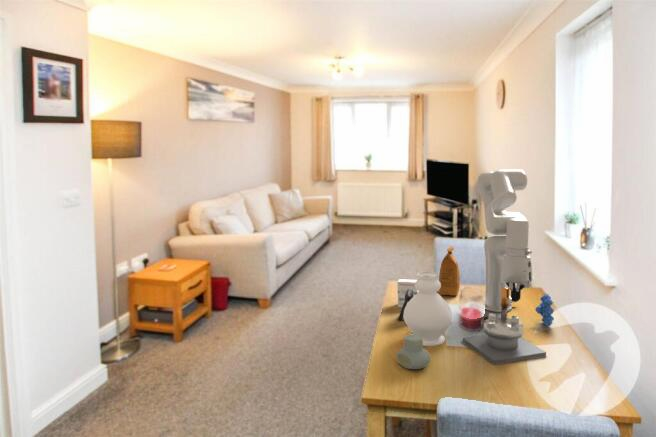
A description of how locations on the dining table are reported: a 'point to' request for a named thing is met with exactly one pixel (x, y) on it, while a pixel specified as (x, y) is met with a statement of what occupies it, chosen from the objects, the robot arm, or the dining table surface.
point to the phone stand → (407, 299)
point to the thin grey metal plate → (503, 349)
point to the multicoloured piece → (503, 321)
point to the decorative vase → (428, 311)
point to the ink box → (403, 287)
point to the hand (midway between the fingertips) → (515, 300)
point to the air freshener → (413, 353)
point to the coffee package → (449, 275)
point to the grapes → (545, 310)
